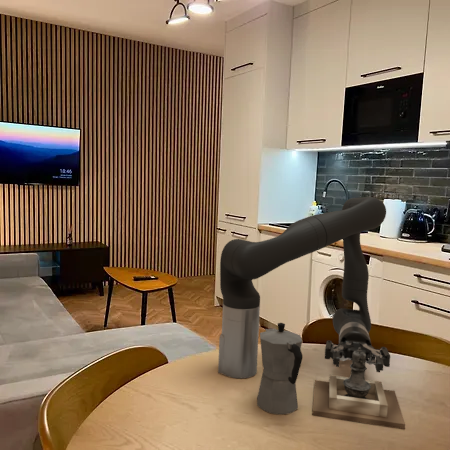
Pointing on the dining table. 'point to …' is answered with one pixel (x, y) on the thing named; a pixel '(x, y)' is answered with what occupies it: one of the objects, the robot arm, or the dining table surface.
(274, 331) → the coffeepot
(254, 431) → the dining table surface
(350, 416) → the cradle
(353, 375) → the salt shaker
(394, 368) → the dining table surface
